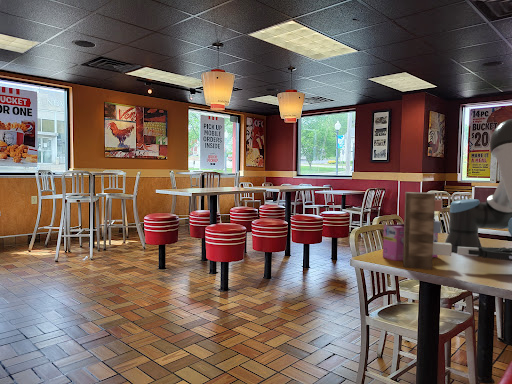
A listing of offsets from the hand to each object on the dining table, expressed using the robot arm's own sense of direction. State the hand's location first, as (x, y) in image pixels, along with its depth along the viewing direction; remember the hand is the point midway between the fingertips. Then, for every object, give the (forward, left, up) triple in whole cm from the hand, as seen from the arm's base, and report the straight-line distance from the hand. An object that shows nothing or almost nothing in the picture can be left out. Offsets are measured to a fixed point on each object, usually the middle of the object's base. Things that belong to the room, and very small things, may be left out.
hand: (457, 250), depth 139 cm
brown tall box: (+12, -5, -7) cm, 15 cm away
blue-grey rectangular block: (+10, -4, +6) cm, 12 cm away
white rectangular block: (+6, -3, -2) cm, 7 cm away
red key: (+10, -4, +14) cm, 18 cm away
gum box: (+9, -20, -7) cm, 23 cm away
